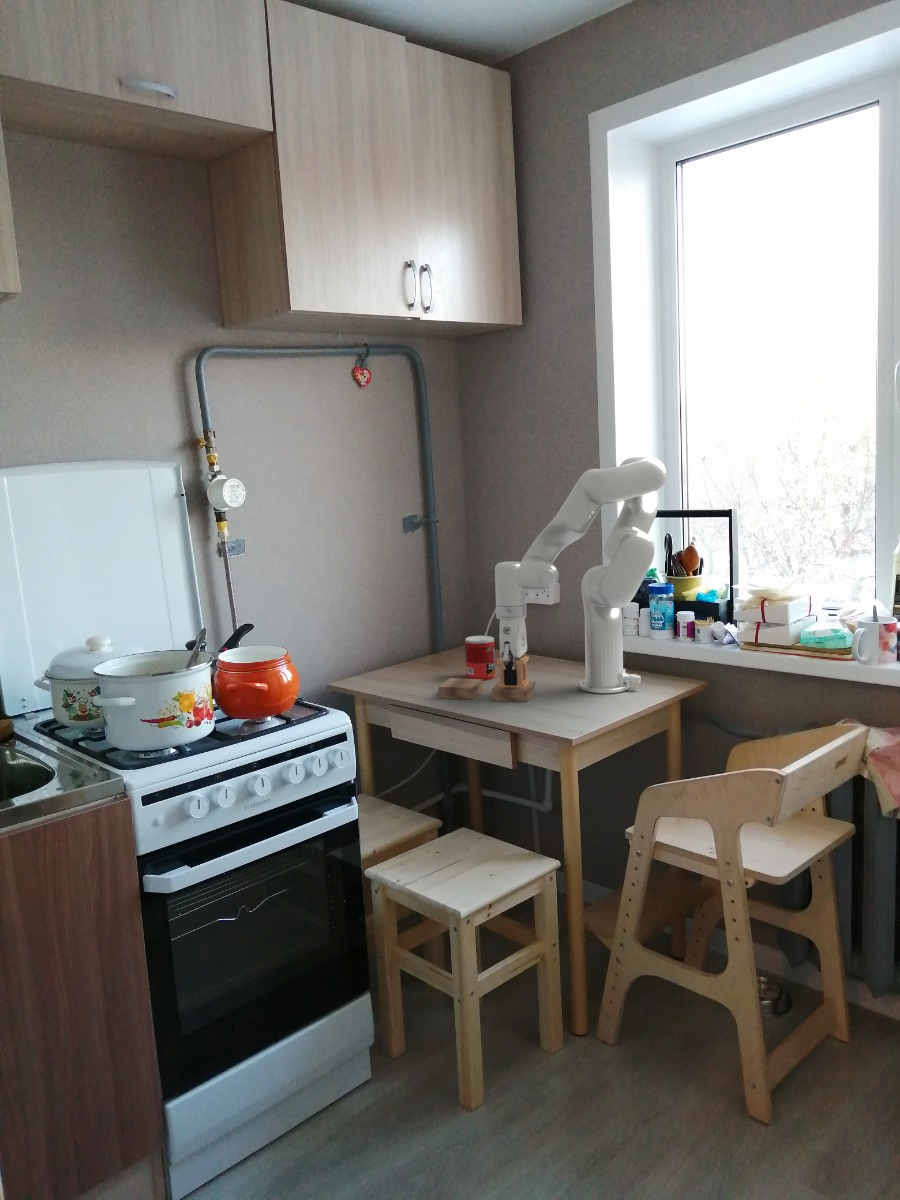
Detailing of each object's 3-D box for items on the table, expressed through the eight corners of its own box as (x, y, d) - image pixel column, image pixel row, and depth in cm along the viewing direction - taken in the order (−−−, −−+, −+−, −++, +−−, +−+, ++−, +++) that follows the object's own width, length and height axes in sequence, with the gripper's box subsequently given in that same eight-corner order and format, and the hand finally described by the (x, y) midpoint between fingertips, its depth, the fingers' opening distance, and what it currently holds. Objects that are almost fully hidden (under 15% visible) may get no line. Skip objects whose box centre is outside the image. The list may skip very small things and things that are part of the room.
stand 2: (535, 692, 243) (535, 681, 242) (527, 702, 235) (526, 690, 234) (501, 691, 246) (501, 680, 245) (492, 700, 237) (491, 688, 237)
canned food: (493, 681, 257) (491, 641, 255) (464, 680, 258) (462, 641, 257) (497, 674, 264) (496, 635, 262) (469, 673, 266) (467, 635, 264)
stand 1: (483, 690, 247) (482, 679, 247) (473, 699, 239) (472, 688, 238) (450, 689, 250) (449, 678, 250) (439, 698, 242) (438, 686, 241)
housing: (529, 683, 241) (528, 656, 240) (524, 688, 236) (523, 660, 235) (502, 682, 243) (501, 655, 242) (497, 687, 238) (496, 659, 237)
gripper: (517, 617, 227) (519, 691, 230) (533, 605, 243) (535, 674, 246) (487, 617, 230) (490, 690, 233) (505, 605, 246) (507, 673, 249)
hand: (513, 681), depth 240 cm, fingers closed on housing, 5 cm apart
